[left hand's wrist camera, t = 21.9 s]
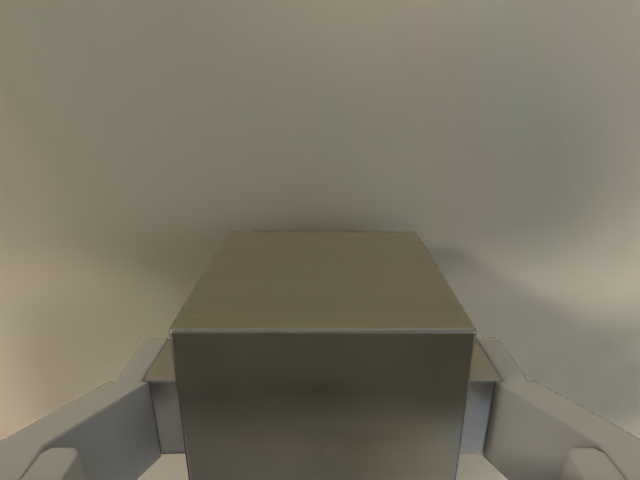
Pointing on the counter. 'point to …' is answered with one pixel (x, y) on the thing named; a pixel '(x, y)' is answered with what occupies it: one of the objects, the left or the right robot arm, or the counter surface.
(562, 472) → the left robot arm
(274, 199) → the counter surface
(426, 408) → the beige cube
